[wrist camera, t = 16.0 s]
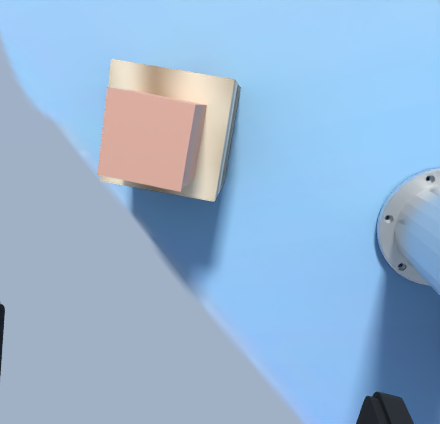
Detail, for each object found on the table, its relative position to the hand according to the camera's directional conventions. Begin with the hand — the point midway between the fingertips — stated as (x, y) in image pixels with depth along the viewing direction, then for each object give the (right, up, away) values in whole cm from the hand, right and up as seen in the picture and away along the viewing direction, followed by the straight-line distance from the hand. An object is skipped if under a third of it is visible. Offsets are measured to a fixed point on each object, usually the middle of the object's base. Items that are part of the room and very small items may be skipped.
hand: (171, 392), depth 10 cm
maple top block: (-3, +12, +28) cm, 31 cm away
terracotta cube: (-3, +11, +24) cm, 26 cm away
